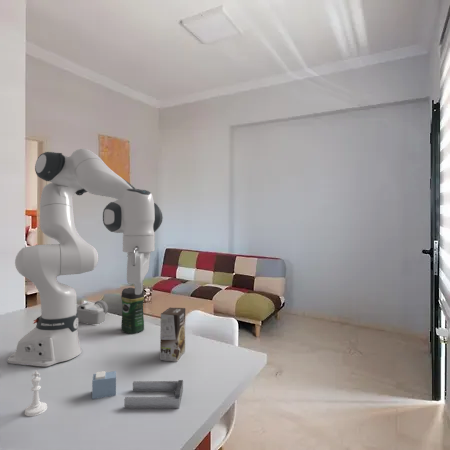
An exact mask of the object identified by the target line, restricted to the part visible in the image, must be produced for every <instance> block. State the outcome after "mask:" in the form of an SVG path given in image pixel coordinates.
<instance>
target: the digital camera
mask: <svg viewBox="0 0 450 450" xmlns="http://www.w3.org/2000/svg"><path fill="white" fill-rule="evenodd" d="M108 311H109V306H108V304H107V302H106V301H105V300H103V299H100V300H97V301H96V302H95V303H94V302H88V301H87V302H84V303H82V304H78V303H77V312H78V323H82V322H83V323H82V324H86V323H88V325H91V324H99V325H101V324H103V323H105V322H106V314H107V313H108ZM104 321H105V322H104ZM102 322H103V323H102ZM100 323H101V324H100Z"/></svg>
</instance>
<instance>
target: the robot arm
mask: <svg viewBox="0 0 450 450" xmlns="http://www.w3.org/2000/svg"><path fill="white" fill-rule="evenodd" d="M34 165H35V166H34V171H35V174H36V176H37V177H38V178H39V179H41V180H43V181H45V182H49V183H48V184H46V185H45V186H43V188H42V191H41V193H40V195H41V196H40V200H39V201H40V202H39V220H40V221H39V225H40V226H39V227H40V230H41V232H42V233H43V234H44V235H45V236H46V237H48V238H51V239H54V240H55V241H57V242H58V243H59V244H57V243H56V244H36V245H30V246H29V245H28V246H26V247H22V248H21V249H20V250H19V251H18V252H17V254H16V256H15V260H14V264H15V265H14V266H15V268H16V271H17V272H18V273H19V274H20V275H21V276H23V277H24V278H26V279H28V280H29V281H30V282H31V283H33V285H34V286H35V288H36V289H37V292H38V293H39V297H40V298H39V299H40V300H39V301H40V312H41V315H40V316H38V317H36V319H34V320H33V323H32V324H36V326H35V327H34V328H33V329H32V330H30V331H29V332H27V333H26V334H25V335H23V337H21V338H20V340H19V341H18V343H17V344H16V345H17V346H16V349H15V352H13V353H12V354H11V355H9V357H8V359H7V364H14V365H15V364H16V365H23V366H34V367H44V368H45V367H50V366H52V365H55V364H57V363H62V362H66V361H70V360H72V359H74V358H76V357H77V356H79V355H80V354H82V351H83V350H82V346H81V343H80V339H79V338H80V337H79V333H78V328H79V322H78V312H77V304H78V303H77V302H78V301H77V300H78V297H77V296H78V295H77V291H76V289H74V288H73V287H71V286H70V285H67V284H64V283H61V282H60V281H58V279H57V277H59V276H68V275H69V276H71V275H81V274H84V273H85V274H86V273H88V272H92V271H93V270H95V268H96V267H97V266H98V263H99V253H98V250H97V249H96V248H95V246H93V245H92V244H90V243H89V242H87V241H86V240H85V239H84V238H83V237H82V236H81V235H80V234H79V232H78V229H77V226H76V224H75V223H76V222H75V216H74V204H73V198H74V195H77V196H83V194H85V193H89V194H91V195H95V196H100V197H106V198H112V199H116V200H114V201H110V202H109V203H108V204H107V205H106V206H105V207H104V209H103V212H102V222H103V225H104V227H105V228H106V229H107V230H108V231H110V232H111V233H115V234H122V252H124V253H127V256H126V257H127V262H126V263H127V264H126V283H127V284H128V285H130V284H131V285H133V286H134V287H133V288H135V294H136V295H140V294H141V293H142V291H144V290H143V287H144V279H145V277H146V275H147V274H148V272H149V268H150V262H151V253H153V252H155V251H156V248H155V244H156V243H155V232H157V230H158V229H159V228H160V227H161V225H162V223H163V219H164V217H163V212H162V210H161V208H160V207H159V206H158V204H157V203H156V202H155V201H154V196H153V193H152V192H151V191H149V190H146V189H139V188H135V187H134V186H133V185H132V184H131V183H130V182H128V181H127V180H126V179H124V178H123V177H121V176H120V175H118V174H117V173H116V172H115V171H113V170H112V169H111V168H110V167H109V166H108V165H107V164H106V163H105V162H104V161H103V159H102V158H101V157H100V156H99V155H97V154H96V153H95V152H93V151H92V150H91V149H87V148H79V149H75V151H73V152H72V153H71V154H70V156H68V155H67V156H66V155H64V154H63V153H62V152H55V151H54V152H53V151H45V152H42V153H41V154H39V156H38V157H37V159H36V161H35V164H34Z"/></svg>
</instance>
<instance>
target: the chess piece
mask: <svg viewBox="0 0 450 450" xmlns="http://www.w3.org/2000/svg"><path fill="white" fill-rule="evenodd" d="M31 376H32V377H33V378H31V380H30V381H31V383H32V387H31V389H30V391H31V392H33V394H32V395H33V396H32V403H31V404H29V405H28V406H27V407H26V408H25V409H24V415H25V416H27V417H35V416H39V415H42V414H43V413H45V411H47V409H48V404H47V403H46V402H43V401H40V393H39V391H40V389H41V388H42V386H41V385H40V382H41V373H40V372H38V370H35V371H34V372H33V373H32V374H31Z"/></svg>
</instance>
